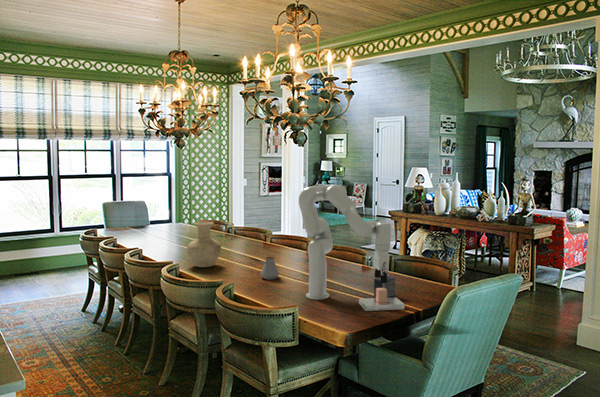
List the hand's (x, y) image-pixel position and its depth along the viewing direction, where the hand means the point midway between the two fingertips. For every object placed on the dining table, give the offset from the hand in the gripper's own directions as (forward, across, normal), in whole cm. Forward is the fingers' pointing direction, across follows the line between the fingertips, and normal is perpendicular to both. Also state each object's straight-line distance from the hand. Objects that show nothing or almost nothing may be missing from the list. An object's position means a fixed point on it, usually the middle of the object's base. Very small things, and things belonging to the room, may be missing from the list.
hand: (380, 280), depth 248 cm
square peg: (+14, +1, +1) cm, 14 cm away
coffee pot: (+16, -60, -54) cm, 83 cm away
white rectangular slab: (+14, +1, +1) cm, 14 cm away
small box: (+14, -15, +8) cm, 22 cm away
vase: (+18, -99, -91) cm, 136 cm away
